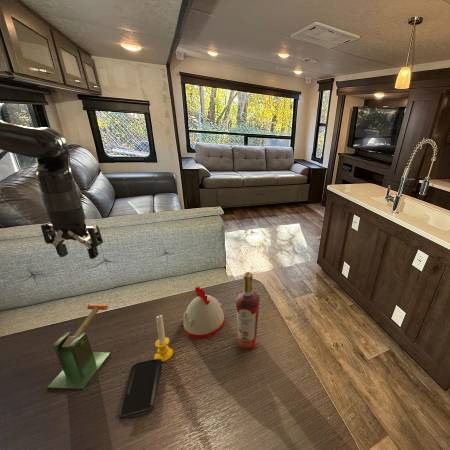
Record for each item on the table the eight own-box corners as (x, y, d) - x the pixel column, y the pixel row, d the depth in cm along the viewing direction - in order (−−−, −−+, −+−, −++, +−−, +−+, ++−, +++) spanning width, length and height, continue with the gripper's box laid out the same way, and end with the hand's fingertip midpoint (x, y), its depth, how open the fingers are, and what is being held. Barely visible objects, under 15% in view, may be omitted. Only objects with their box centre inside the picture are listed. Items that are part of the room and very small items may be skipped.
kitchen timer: (211, 304, 99) (209, 273, 94) (231, 323, 91) (231, 290, 86) (176, 322, 89) (172, 289, 84) (196, 345, 81) (192, 310, 76)
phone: (162, 357, 75) (153, 408, 62) (162, 360, 76) (154, 411, 63) (132, 364, 72) (116, 418, 60) (132, 366, 73) (117, 421, 60)
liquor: (233, 351, 81) (231, 280, 70) (240, 333, 88) (239, 266, 77) (255, 353, 81) (257, 283, 70) (260, 335, 87) (262, 269, 76)
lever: (92, 306, 76) (88, 302, 74) (109, 307, 76) (106, 303, 75) (60, 350, 66) (55, 346, 64) (79, 351, 66) (75, 347, 64)
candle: (150, 358, 76) (144, 316, 71) (165, 346, 80) (161, 306, 75) (162, 365, 74) (157, 323, 69) (176, 352, 78) (173, 312, 73)
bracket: (80, 354, 75) (69, 322, 70) (111, 355, 76) (102, 323, 71) (47, 390, 65) (31, 356, 60) (83, 391, 66) (70, 357, 61)
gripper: (22, 208, 64) (42, 261, 70) (80, 212, 64) (94, 265, 71) (48, 199, 70) (64, 249, 77) (100, 203, 71) (112, 252, 78)
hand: (79, 256), depth 74 cm, fingers open, 8 cm apart
